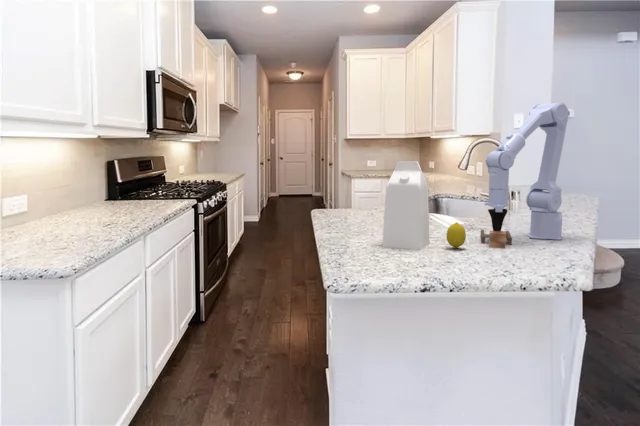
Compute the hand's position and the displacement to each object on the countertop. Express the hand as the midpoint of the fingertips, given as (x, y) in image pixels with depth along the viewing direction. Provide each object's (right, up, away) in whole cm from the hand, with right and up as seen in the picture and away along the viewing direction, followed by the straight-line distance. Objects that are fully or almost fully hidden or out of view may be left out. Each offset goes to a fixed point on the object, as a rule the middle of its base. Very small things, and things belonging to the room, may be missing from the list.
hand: (496, 231), depth 154 cm
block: (-2, -4, -5) cm, 7 cm away
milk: (-29, -4, -2) cm, 30 cm away
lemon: (-16, -5, -9) cm, 19 cm away
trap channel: (+1, -3, +5) cm, 6 cm away
